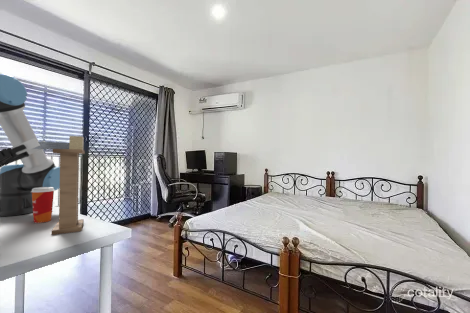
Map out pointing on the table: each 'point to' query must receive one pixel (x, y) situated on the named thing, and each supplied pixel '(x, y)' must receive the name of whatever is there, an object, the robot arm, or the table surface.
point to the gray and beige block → (63, 144)
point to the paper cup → (42, 204)
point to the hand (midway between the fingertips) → (42, 142)
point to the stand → (68, 192)
